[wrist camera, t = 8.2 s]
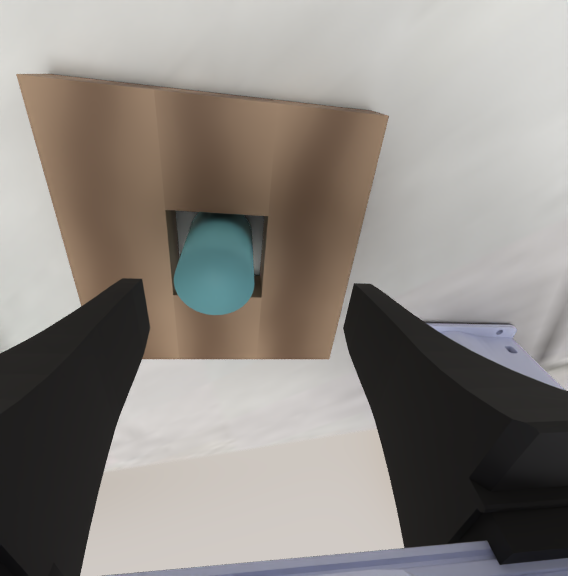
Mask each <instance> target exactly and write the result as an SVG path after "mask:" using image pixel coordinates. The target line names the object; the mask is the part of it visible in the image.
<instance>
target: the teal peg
mask: <svg viewBox="0 0 568 576" xmlns="http://www.w3.org/2000/svg"><path fill="white" fill-rule="evenodd" d="M174 286H175V290H176V292H177V294H178V296H179V297H180V299H181V300H182V301H183V302H184V303H185V304H186V305H187V306H189V307H190V308H192V309H193V310H195V311H198V312H200V313H204V314H209V315H224V314H228V313H231V312H234V311H236V310H238V309H240V308H241V307H243V306H244V305H245V304H246V303H247V302H248V300H249V299H250V297H251V296H252V293H253V290H254V266H253V247H252V231H251V226H250V224H249V222H248V220H247V219H246V217H245V216H244V215H240V214H224V213H208V212H199V213H198V214H197V215H196V216H195V218H194V219H193V221H192V224H191V227H190V230H189V233H188V236H187V238H186V241H185V244H184V247H183V250H182V253H181V256H180V259H179V262H178V265H177V268H176V271H175V274H174Z"/></svg>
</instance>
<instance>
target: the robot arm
mask: <svg viewBox="0 0 568 576" xmlns="http://www.w3.org/2000/svg"><path fill="white" fill-rule="evenodd" d="M343 329H344V333H345V338H346V342H347V346H348V350H349V354H350V356H351V359H352V361H353V364H354V367H355V369H356V372H357V374H358V377H359V379H360V382H361V384H362V387H363V389H364V392H365V394H366V397H367V399H368V402H369V404H370V407H371V410H372V413H373V416H374V419H375V422H376V426H377V430H378V433H379V437H380V440H381V444H382V448H383V452H384V456H385V460H386V464H387V468H388V472H389V476H390V480H391V485H392V489H393V494H394V498H395V502H396V507H397V512H398V517H399V522H400V527H401V533H402V538H403V543H404V548H401V549H389V550H379V551H368V552H357V553H345V554H335V555H324V556H313V557H302V558H291V559H280V560H270V561H258V562H247V563H236V564H225V565H214V566H203V567H192V568H181V569H170V570H159V571H149V572H137V573H127V574H117V575H116V574H115V575H104V576H568V391H566V390H565V389H564V388H563V387H561V386H560V385H559V384H558V383H557V382H556V381H555V380H554V379H553V378H552V377H551V376H550V375H549V374H548V373H547V372H546V371H545V370H544V369H543V368H542V367H541V366H540V365H539V364H538V363H537V362H536V361H535V360H534V359H533V358H532V357H531V356H530V355H529V354H528V353H527V352H526V351H525V350H524V349H523V348H522V347H521V346H520V345H519V344H518V343H517V342H516V341H515V340H514V339H513V337H514V335H515V334H516V331H517V329H516V328H515V327H514V326H513V325H493V324H436V323H425V322H423V321H422V320H420V319H419V318H418V317H416V316H415V315H413V314H412V313H410V312H409V311H408V310H406V309H405V308H404V307H402V306H401V305H400V304H398V303H397V302H396V301H394V300H393V299H392V298H390V297H389V296H388V295H386V294H385V293H383V292H382V291H381V290H379V289H378V288H376V287H375V286H373V285H372V284H355V283H354V286H353V290H352V294H351V298H350V303H349V307H348V311H347V315H346V319H345V323H344V327H343ZM149 331H150V323H149V317H148V311H147V305H146V299H145V293H144V287H143V281H142V279H135V278H122V279H120V280H119V281H117V282H116V283H114V284H113V285H111V286H110V287H108V288H107V289H106V290H104V291H103V292H101V293H100V294H99V295H97V296H96V297H94V298H93V299H91V300H90V301H88V302H87V303H86V304H84V305H83V306H81V307H80V308H78V309H77V310H75V311H74V312H72V313H71V314H69V315H68V316H66V317H64V318H63V319H61V320H60V321H58V322H56V323H55V324H53V325H52V326H50V327H48V328H47V329H45V330H44V331H42V332H40V333H38V334H37V335H35V336H33V337H31V338H29V339H28V340H26V341H24V342H22V343H20V344H18V345H16V346H14V347H12V348H10V349H8V350H6V351H4V352H2V353H0V576H80V573H81V568H82V564H83V558H84V554H85V549H86V544H87V540H88V535H89V530H90V526H91V522H92V517H93V513H94V509H95V504H96V500H97V496H98V491H99V487H100V484H101V480H102V476H103V472H104V468H105V464H106V460H107V457H108V453H109V449H110V446H111V442H112V439H113V435H114V431H115V428H116V425H117V422H118V419H119V416H120V413H121V411H122V408H123V406H124V403H125V401H126V398H127V396H128V393H129V391H130V388H131V386H132V383H133V381H134V378H135V376H136V373H137V371H138V368H139V365H140V363H141V360H142V358H143V355H144V352H145V348H146V344H147V340H148V335H149Z"/></svg>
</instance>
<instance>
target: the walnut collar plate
mask: <svg viewBox="0 0 568 576" xmlns="http://www.w3.org/2000/svg"><path fill="white" fill-rule="evenodd" d="M16 75H17V78H18V82H19V86H20V89H21V93H22V96H23V100H24V103H25V107H26V110H27V114H28V118H29V121H30V125H31V128H32V132H33V135H34V139H35V142H36V146H37V150H38V153H39V157H40V160H41V164H42V167H43V171H44V175H45V178H46V182H47V185H48V189H49V192H50V196H51V199H52V203H53V207H54V210H55V214H56V217H57V221H58V224H59V228H60V231H61V235H62V239H63V242H64V246H65V249H66V253H67V256H68V260H69V263H70V267H71V271H72V274H73V278H74V281H75V285H76V288H77V292H78V295H79V299H80V303H81V306H83V305H84V304H86V303H87V302H88V301H90V300H91V299H93V298H94V297H96V296H97V295H99V294H100V293H101V292H103V291H104V290H106V289H107V288H108V287H110V286H111V285H113V284H114V283H116V282H117V281H119V280H120V279H122V278H135V279H142V281H143V287H144V293H145V299H146V305H147V311H148V317H149V323H150V331H149V335H148V340H147V344H146V348H145V352H144V355H143V358H142V359H329V358H330V354H331V349H332V345H333V341H334V337H335V333H336V329H337V325H338V321H339V317H340V313H341V309H342V305H343V301H344V297H345V293H346V288H347V284H348V280H349V276H350V272H351V268H352V264H353V260H354V256H355V252H356V248H357V244H358V240H359V236H360V232H361V228H362V223H363V219H364V215H365V211H366V207H367V203H368V199H369V195H370V191H371V187H372V183H373V179H374V175H375V171H376V167H377V162H378V158H379V154H380V150H381V146H382V142H383V138H384V134H385V130H386V126H387V122H388V118H389V116H387V115H384V114H380V113H377V112H374V111H370V110H361V109H352V108H343V107H334V106H326V105H317V104H308V103H299V102H291V101H282V100H273V99H264V98H255V97H247V96H238V95H229V94H220V93H212V92H203V91H194V90H185V89H176V88H168V87H159V86H150V85H141V84H132V83H124V82H115V81H106V80H97V79H89V78H80V77H71V76H62V75H53V74H16ZM176 211H192V212H208V213H224V214H240V215H256V216H264V227H263V240H262V254H261V267H260V276H254V290H253V293H252V296H251V297H250V299H249V300H248V302H247V303H246V304H245V305H244V306H243V307H241V308H240V309H238V310H236V311H234V312H231V313H228V314H224V315H209V314H204V313H200V312H198V311H195V310H193V309H192V308H190V307H189V306H187V305H186V304H185V303H184V302H183V301H182V300H181V299H180V297H179V296H178V294H177V292H176V290H175V286H174V274H175V271H176V268H177V265H178V262H179V249H178V236H177V223H176Z"/></svg>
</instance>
